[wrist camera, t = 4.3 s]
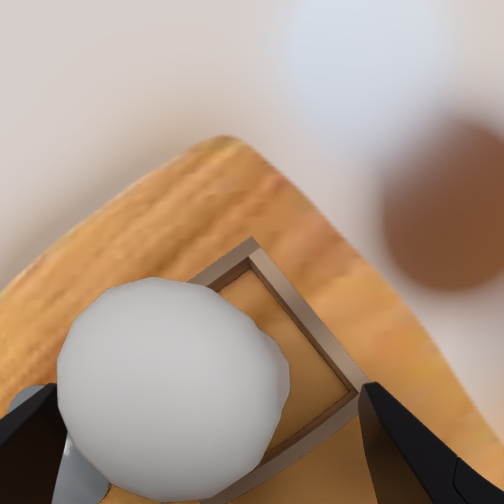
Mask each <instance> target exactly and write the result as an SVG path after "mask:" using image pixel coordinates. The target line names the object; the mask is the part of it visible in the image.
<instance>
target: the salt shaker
mask: <svg viewBox="0 0 504 504" xmlns="http://www.w3.org/2000/svg"><path fill="white" fill-rule="evenodd" d="M289 393H290V374H289V363H288V361H287V360H286V358H285V356H284V355H283V353H282V351H281V349H280V348H279V346H278V344H277V342H276V341H275V340H274V339H273V338H271V337H270V336H268V335H267V334H266V333H264V332H263V331H261V330H260V329H258V328H257V326H256V324H255V323H254V321H253V319H252V318H250V317H249V316H247V315H246V314H245V313H243V312H242V311H241V310H239V309H238V308H236V307H235V306H234V305H232V304H231V303H230V302H228V301H227V300H226V299H224V298H223V297H221V296H220V295H219V294H217V293H216V292H215V291H213V290H212V289H210V288H208V287H205V286H202V285H198V284H192V283H186V282H180V281H174V280H168V279H163V278H157V277H149V278H145V279H142V280H138V281H134V282H131V283H127V284H123V285H119V286H116V287H112V288H108V289H107V290H106V291H105V292H103V293H102V294H101V295H100V296H99V297H98V298H97V299H96V300H95V301H94V302H92V303H91V304H90V305H89V306H88V307H87V308H86V309H85V310H84V311H83V312H82V313H81V314H80V315H78V316H77V317H76V318H75V320H74V322H73V324H72V326H71V328H70V331H69V333H68V335H67V337H66V340H65V342H64V344H63V347H62V349H61V352H60V354H59V356H58V359H57V395H58V408H59V410H60V413H61V415H62V418H63V420H64V423H65V425H66V428H67V430H68V432H69V435H70V437H71V439H72V441H73V443H74V446H75V448H76V450H77V452H78V453H79V454H80V455H81V456H82V457H83V458H84V459H85V460H86V461H87V462H88V463H90V464H91V465H92V466H93V467H94V468H95V469H96V470H97V471H98V472H99V473H100V474H101V475H102V476H103V477H104V478H106V479H107V480H108V481H109V482H110V483H111V484H112V485H114V486H116V487H119V488H121V489H124V490H126V491H129V492H131V493H134V494H136V495H139V496H142V497H144V498H147V499H150V500H153V501H156V502H159V503H169V502H180V501H190V500H198V499H206V498H211V497H213V496H214V495H216V494H217V493H219V492H221V491H222V490H224V489H225V488H227V487H228V486H230V485H231V484H233V483H234V482H236V481H237V480H239V479H240V478H242V477H243V476H245V475H246V474H248V473H249V472H251V471H252V470H253V469H254V468H255V467H256V466H257V465H258V464H259V463H260V462H261V460H262V458H263V456H264V453H265V451H266V449H267V447H268V445H269V443H270V441H271V439H272V436H273V434H274V432H275V430H276V428H277V425H278V423H279V421H280V419H281V412H282V409H283V407H284V405H285V402H286V400H287V398H288V395H289Z"/></svg>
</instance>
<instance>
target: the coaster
mask: <svg viewBox="0 0 504 504" xmlns="http://www.w3.org/2000/svg"><path fill="white" fill-rule="evenodd" d="M43 387H44V386H43V385H37V386H30V387H27V388H25V389H23V390H22V391H20V392H19V393H18V394H17V395H16V396H15V397H14V399H13V400H12V402H11V404H10V406H9V409H8V412H7V414H8V413H9V412H11V411H12V410H13V409H15V408H16V407H17V406H19V405H20V404H21V403H23V402H24V401H25V400H27V399H28V398H29V397H31V396H32V395H34V394H35V393H36V392H38V391H39V390H40V389H42V388H43ZM110 484H111V483H110V482H109V481H108V480H107V479H106V478H104V477H103V476H102V475H101V474H100V473H99V472H98V471H97V470H96V469H95V468H94V467H93V466H92V465H91V464H90V463H88V462H87V461H86V460H85V459H84V458H83V457H82V456H81V455H80V454H79V453H78V452H77V450H76V448H75V446H74V443H73V441H72V439H71V437H70V435H69V432H68V433H67V439H66V445H65V449H64V453H63V457H62V461H61V465H60V469H59V473H58V477H57V481H56V486H55V490H54V495H53V500H52V504H98V503H99V502H100V501H101V500H102V499H103V498H104V497H105V495H106V494H107V492H108V490H109V488H110Z"/></svg>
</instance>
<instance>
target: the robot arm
mask: <svg viewBox="0 0 504 504" xmlns="http://www.w3.org/2000/svg"><path fill="white" fill-rule="evenodd" d="M358 413H359V419H360V425H361V431H362V438H363V445H364V451H365V456H366V460H367V464H368V467H369V471H370V475H371V479H372V482H373V486H374V490H375V494H376V498H377V501H378V504H504V491H502V490H501V489H499V488H498V487H496V486H495V485H493V484H492V483H490V482H489V481H488V480H486V479H485V478H484V477H482V476H481V475H480V474H478V473H477V472H476V471H475V470H474V469H472V468H471V467H470V466H469V465H468V464H467V463H465V462H464V461H463V460H462V459H461V458H460V457H457V455H456V454H455V453H454V452H453V451H452V450H451V449H450V448H449V447H448V446H447V445H446V444H444V443H443V442H442V441H441V440H440V439H439V438H438V437H437V436H436V435H435V434H434V433H432V432H431V431H430V430H429V429H428V428H427V427H426V426H425V425H424V424H423V423H422V422H420V421H419V420H418V419H417V418H416V417H415V416H414V415H413V414H412V413H411V412H410V411H409V410H407V409H406V408H405V407H404V406H403V405H402V404H401V403H400V402H399V401H398V400H397V399H396V398H394V397H393V396H392V395H391V394H390V393H389V392H388V391H387V390H386V389H385V388H384V387H383V386H381V385H380V384H379V383H378V382H369V383H364V384H363V385H362V387H361V391H360V395H359V399H358ZM67 433H68V430H67V428H66V425H65V423H64V420H63V418H62V415H61V413H60V410H59V408H58V395H57V383H52V382H51V383H48V384H47V385H46V386H44V387H43V388H42V389H40V390H39V391H38V392H36V393H35V394H34V395H32V396H31V397H29V398H28V399H27V400H25V401H24V402H23V403H21V404H20V405H19V406H17V407H16V408H15V409H13V410H12V411H11V412H9V413H8V414H7V415H6V416H4V417H3V418H2V419H0V504H52V500H53V495H54V490H55V486H56V481H57V477H58V473H59V469H60V465H61V461H62V457H63V453H64V449H65V445H66V439H67Z"/></svg>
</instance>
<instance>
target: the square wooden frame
mask: <svg viewBox="0 0 504 504" xmlns="http://www.w3.org/2000/svg"><path fill="white" fill-rule="evenodd" d="M250 268H251V269H252V270H253V271H254V273H255V274H256V275H257V276H258V278H259V279H260V280H261V281H262V283H263V284H264V285H265V287H266V288H267V289H268V290H269V292H270V293H271V294H272V295H273V297H274V298H275V299H276V300H277V302H278V303H279V304H280V305H281V307H282V308H283V309H284V310H285V311H286V313H287V314H288V315H289V316H290V318H291V319H292V320H293V321H294V323H295V324H296V325H297V326H298V328H299V329H300V330H301V331H302V333H303V334H304V335H305V336H306V338H307V339H308V340H309V341H310V343H311V344H312V345H313V346H314V347H315V349H316V350H317V351H318V352H319V354H320V355H321V356H322V357H323V359H324V360H325V361H326V362H327V364H328V365H329V366H330V367H331V368H332V370H333V371H334V372H335V373H336V375H337V376H338V377H339V378H340V380H341V381H342V382H343V383H344V384H345V386H346V387H347V388H348V389H349V392H348V393H347V394H346V395H345V396H343V397H342V398H341V399H340V400H339V401H337V402H336V403H335V404H334V405H332V406H331V407H330V408H329V409H327V410H326V411H325V412H324V413H322V414H321V415H320V416H319V417H317V418H316V419H315V420H313V421H312V422H311V423H309V424H308V425H307V426H305V427H304V428H303V429H301V430H300V431H298V432H297V433H296V434H294V435H293V436H291V437H290V438H289V439H287V440H286V441H284V442H283V443H281V444H280V445H279V446H277V447H276V448H274V449H273V450H271V451H270V452H268V453H267V454H265V455H264V456H263V458H262V460H261V462H260V463H259V464H258V465H257V466H256V467H255V468H254V469H253V470H252V471H251V472H249V473H248V474H246V475H245V476H243V477H242V478H240V479H239V480H237V481H236V482H234V483H233V484H231V485H230V486H228V487H227V488H225V489H224V490H222V491H221V492H219V493H217V494H216V495H214V496H213V497H211V498H206V499H198V501H199V502H200V503H201V504H226V503H228V502H230V501H232V500H234V499H236V498H237V497H239V496H241V495H243V494H245V493H246V492H248V491H250V490H252V489H253V488H255V487H257V486H258V485H260V484H262V483H263V482H265V481H267V480H268V479H270V478H271V477H273V476H275V475H276V474H278V473H279V472H281V471H282V470H284V469H285V468H287V467H288V466H290V465H291V464H293V463H294V462H296V461H297V460H299V459H300V458H302V457H303V456H305V455H306V454H307V453H309V452H310V451H312V450H313V449H314V448H316V447H317V446H318V445H320V444H321V443H322V442H324V441H325V440H326V439H328V438H329V437H330V436H332V435H333V434H334V433H335V432H337V431H338V430H339V429H340V428H342V427H343V426H344V425H345V424H347V423H348V422H349V421H350V420H352V419H353V418H354V417H355V416H356V415H358V414H359V413H358V399H359V395H360V391H361V387H362V385H363V384H364V383H369V382H371V381H370V380H369V379H368V377H367V376H366V375H365V374H364V372H363V371H362V370H361V369H360V367H359V366H358V365H357V364H356V362H355V361H354V360H353V359H352V358H351V356H350V355H349V354H348V353H347V351H346V350H345V349H344V348H343V346H342V345H341V344H340V343H339V342H338V340H337V339H336V338H335V337H334V335H333V334H332V333H331V332H330V331H329V329H328V328H327V327H326V326H325V324H324V323H323V322H322V321H321V320H320V318H319V317H318V316H317V315H316V313H315V312H314V311H313V310H312V309H311V307H310V306H309V305H308V304H307V302H306V301H305V300H304V299H303V298H302V296H301V295H300V294H299V293H298V291H297V290H296V289H295V288H294V287H293V285H292V284H291V283H290V282H289V281H288V279H287V278H286V277H285V276H284V274H283V273H282V272H281V271H280V270H279V268H278V267H277V266H276V265H275V264H274V262H273V261H272V260H271V259H270V258H269V256H268V255H267V254H266V253H265V252H264V250H263V249H262V248H261V247H260V245H259V244H258V243H257V242H256V241H255V239H254V238H253V237H252V236H251V237H249V238H248V239H247V240H245V241H244V242H242V243H241V244H240V245H238V246H237V247H235V248H234V249H232V250H231V251H230V252H228V253H227V254H225V255H224V256H223V257H221V258H220V259H218V260H217V261H216V262H214V263H213V264H211V265H210V266H209V267H207V268H206V269H204V270H203V271H202V272H200V273H199V274H197V275H196V276H195V277H193V278H192V279H190V280H189V281H188V282H186V283H192V284H198V285H202V286H205V287H208V288H210V289H212V290H213V291H215V292H216V293H217V292H218V291H220V290H221V289H222V288H224V287H225V286H227V285H228V284H229V283H231V282H232V281H234V280H235V279H236V278H238V277H239V276H240V275H242V274H243V273H245V272H246V271H247V270H249V269H250Z"/></svg>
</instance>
